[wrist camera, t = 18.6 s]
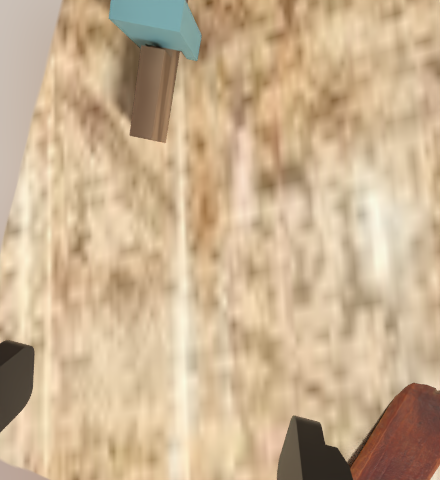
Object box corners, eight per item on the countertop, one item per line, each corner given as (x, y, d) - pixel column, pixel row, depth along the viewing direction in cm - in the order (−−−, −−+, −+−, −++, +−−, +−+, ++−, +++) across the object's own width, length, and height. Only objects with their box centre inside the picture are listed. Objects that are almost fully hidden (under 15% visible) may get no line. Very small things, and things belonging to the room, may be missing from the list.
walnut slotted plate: (198, -70, 32) (187, -111, 27) (165, 142, 37) (151, 140, 32) (176, -74, 32) (161, -116, 27) (146, 138, 37) (129, 135, 32)
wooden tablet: (374, 547, 47) (378, 561, 46) (309, 520, 47) (311, 532, 46) (482, 404, 40) (491, 414, 39) (406, 372, 40) (412, 381, 39)
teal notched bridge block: (201, 35, 34) (184, -2, 26) (197, 60, 35) (179, 32, 27) (145, 24, 34) (112, -15, 27) (141, 49, 35) (108, 18, 27)
